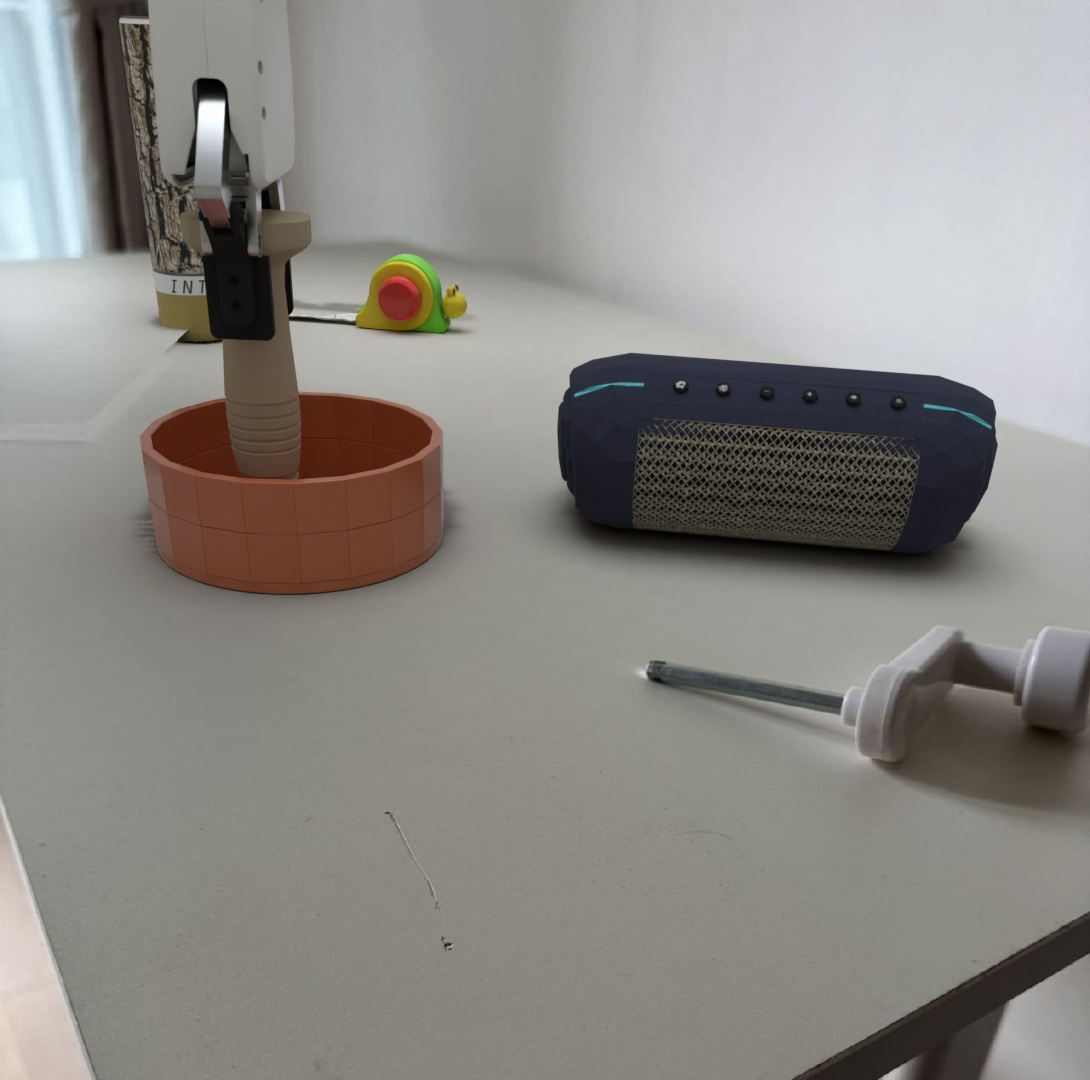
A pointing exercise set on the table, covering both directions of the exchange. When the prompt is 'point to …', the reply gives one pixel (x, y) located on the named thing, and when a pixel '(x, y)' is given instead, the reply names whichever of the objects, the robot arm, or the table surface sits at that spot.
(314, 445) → the bowl
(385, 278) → the toy measuring tape
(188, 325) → the paper tube
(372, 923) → the table surface
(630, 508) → the portable speaker
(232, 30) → the robot arm
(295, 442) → the handle
